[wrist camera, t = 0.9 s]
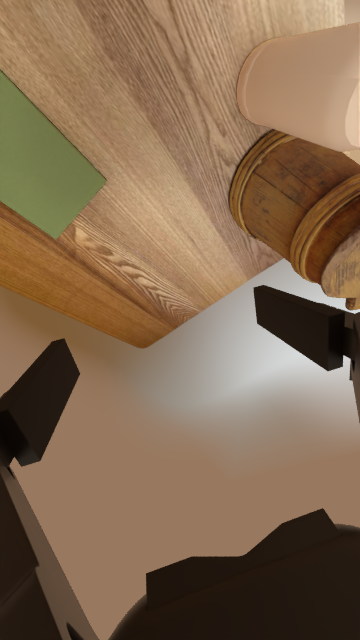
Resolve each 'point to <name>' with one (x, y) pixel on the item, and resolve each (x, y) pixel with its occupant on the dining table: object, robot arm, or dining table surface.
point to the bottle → (306, 86)
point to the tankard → (303, 210)
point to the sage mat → (40, 165)
